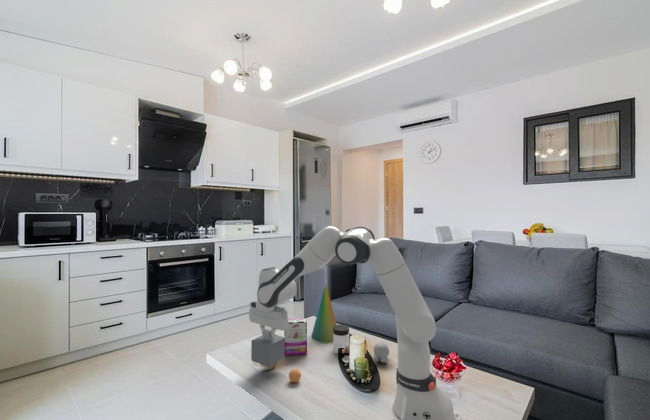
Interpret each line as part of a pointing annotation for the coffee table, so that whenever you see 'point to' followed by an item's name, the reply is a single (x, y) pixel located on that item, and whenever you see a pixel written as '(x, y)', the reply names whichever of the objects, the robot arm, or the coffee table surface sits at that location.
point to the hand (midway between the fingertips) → (268, 335)
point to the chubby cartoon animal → (381, 352)
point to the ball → (294, 375)
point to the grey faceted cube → (267, 349)
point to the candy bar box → (296, 337)
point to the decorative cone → (324, 320)
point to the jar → (340, 337)
